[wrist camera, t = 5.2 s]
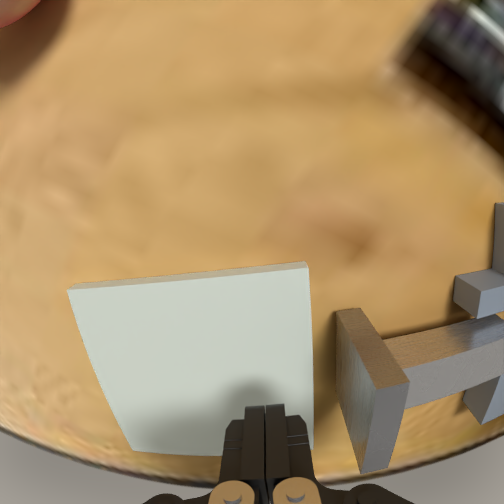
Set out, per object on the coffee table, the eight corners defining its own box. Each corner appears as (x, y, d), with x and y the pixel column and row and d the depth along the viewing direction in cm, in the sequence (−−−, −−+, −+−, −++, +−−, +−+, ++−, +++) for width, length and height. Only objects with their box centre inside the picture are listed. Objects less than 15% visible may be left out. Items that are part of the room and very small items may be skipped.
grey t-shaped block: (336, 311, 14) (376, 389, 8) (484, 284, 14) (552, 328, 8) (335, 390, 15) (360, 474, 10) (470, 357, 15) (520, 412, 9)
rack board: (76, 283, 15) (66, 289, 14) (305, 260, 14) (308, 267, 13) (136, 440, 18) (132, 450, 17) (311, 438, 17) (313, 449, 16)
